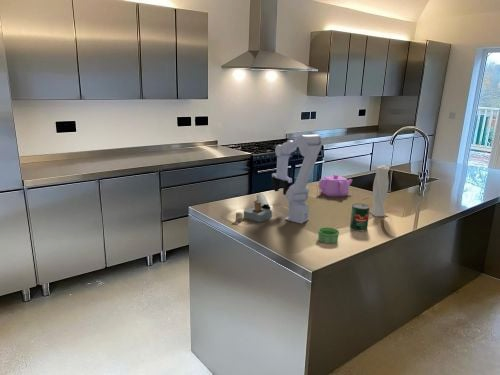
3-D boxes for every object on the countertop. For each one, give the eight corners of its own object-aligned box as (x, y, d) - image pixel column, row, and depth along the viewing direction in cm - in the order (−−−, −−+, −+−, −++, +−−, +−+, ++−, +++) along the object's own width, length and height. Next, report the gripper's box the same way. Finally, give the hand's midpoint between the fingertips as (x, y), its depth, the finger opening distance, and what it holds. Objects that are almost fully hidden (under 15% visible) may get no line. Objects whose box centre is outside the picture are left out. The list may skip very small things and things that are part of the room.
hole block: (271, 217, 187) (271, 210, 186) (260, 222, 180) (260, 215, 179) (255, 212, 193) (255, 206, 192) (243, 217, 185) (243, 211, 184)
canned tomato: (357, 232, 171) (359, 209, 168) (346, 226, 177) (348, 204, 175) (370, 229, 174) (373, 207, 171) (359, 224, 181) (362, 202, 178)
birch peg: (243, 220, 181) (243, 213, 180) (239, 222, 179) (239, 214, 178) (238, 219, 183) (238, 211, 182) (234, 221, 180) (234, 213, 179)
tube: (254, 193, 216) (259, 206, 192) (263, 190, 216) (269, 202, 192) (257, 201, 217) (262, 215, 193) (265, 198, 217) (271, 212, 193)
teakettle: (316, 194, 230) (318, 175, 226) (325, 189, 244) (327, 170, 241) (343, 199, 221) (345, 179, 218) (351, 193, 236) (353, 174, 232)
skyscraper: (389, 217, 191) (396, 164, 184) (374, 218, 190) (380, 164, 183) (381, 212, 199) (387, 161, 192) (366, 212, 198) (372, 161, 191)
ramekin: (318, 235, 166) (319, 226, 165) (339, 237, 163) (340, 228, 162) (316, 242, 157) (316, 233, 156) (337, 245, 155) (338, 236, 154)
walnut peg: (258, 219, 184) (259, 203, 182) (253, 217, 186) (253, 202, 184) (261, 217, 187) (262, 202, 185) (256, 216, 188) (256, 200, 186)
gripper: (267, 165, 197) (266, 190, 200) (284, 171, 185) (283, 197, 189) (278, 164, 201) (277, 188, 204) (295, 169, 189) (294, 195, 193)
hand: (280, 192), depth 197 cm, fingers open, 7 cm apart
